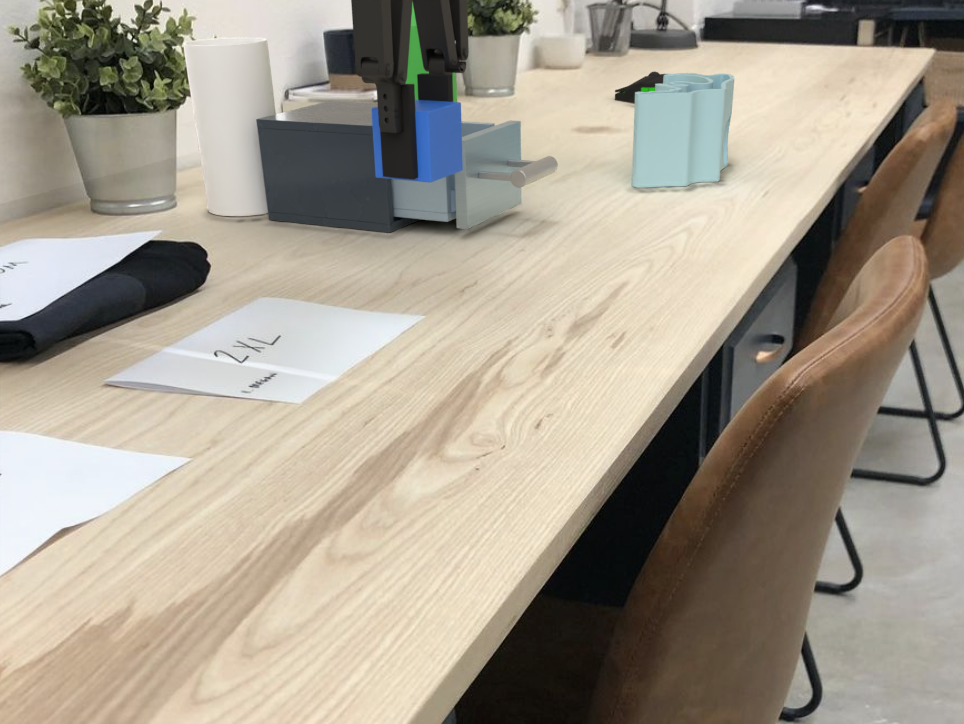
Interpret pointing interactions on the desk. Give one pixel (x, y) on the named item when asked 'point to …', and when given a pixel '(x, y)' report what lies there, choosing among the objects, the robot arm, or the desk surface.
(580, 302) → the desk surface
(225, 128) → the cup
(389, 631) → the desk surface
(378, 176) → the cube
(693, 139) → the squiggly pen holder
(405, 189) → the drawer
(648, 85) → the black spring clamp
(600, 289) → the desk surface
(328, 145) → the dark gray drawer cabinet
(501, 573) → the desk surface
